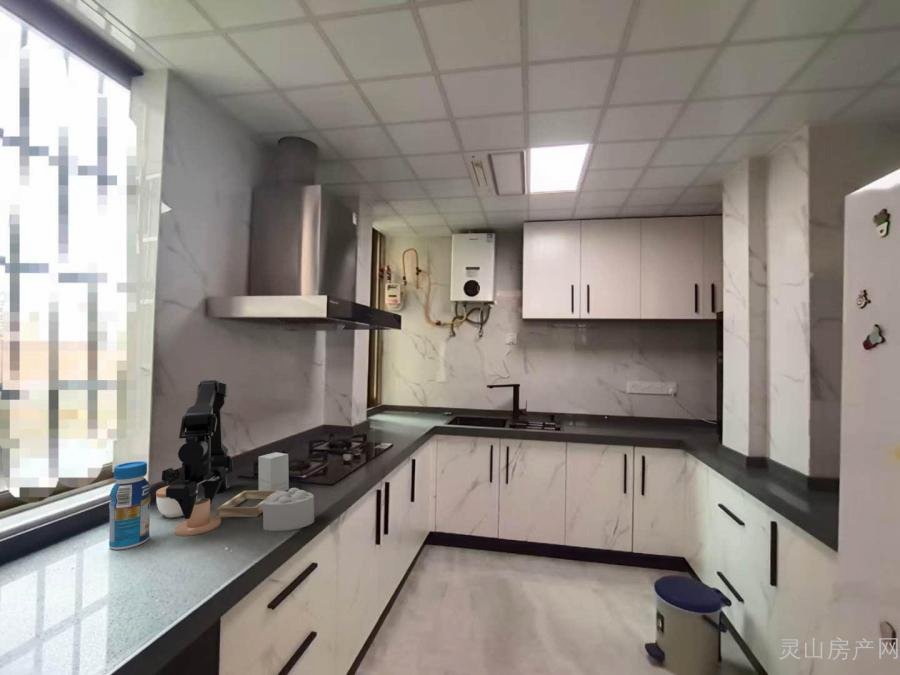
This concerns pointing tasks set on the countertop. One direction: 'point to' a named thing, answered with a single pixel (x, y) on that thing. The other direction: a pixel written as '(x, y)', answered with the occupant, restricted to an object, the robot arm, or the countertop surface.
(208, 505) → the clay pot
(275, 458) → the supplement box
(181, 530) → the terracotta saucer
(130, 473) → the beverage bottle
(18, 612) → the countertop surface
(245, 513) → the wooden frame
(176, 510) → the lidded jar
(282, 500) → the lumpy-topped squat cylinder
